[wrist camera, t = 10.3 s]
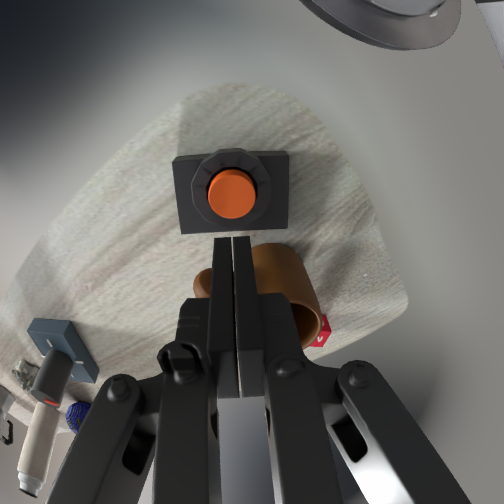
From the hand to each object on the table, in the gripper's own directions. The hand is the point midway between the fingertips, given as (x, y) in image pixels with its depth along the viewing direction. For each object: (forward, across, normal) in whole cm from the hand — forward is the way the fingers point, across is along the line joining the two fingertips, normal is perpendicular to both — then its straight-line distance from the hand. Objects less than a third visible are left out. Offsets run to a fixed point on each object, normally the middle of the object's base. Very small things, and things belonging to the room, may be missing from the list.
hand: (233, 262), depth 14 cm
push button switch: (+14, 0, -1) cm, 14 cm away
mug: (+15, +2, -10) cm, 18 cm away
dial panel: (+14, -29, -24) cm, 40 cm away
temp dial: (+11, -29, -24) cm, 39 cm away
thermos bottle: (+15, -54, -54) cm, 78 cm away
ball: (+15, -36, -46) cm, 60 cm away
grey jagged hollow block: (+15, -46, -36) cm, 60 cm away
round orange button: (+11, 0, 0) cm, 11 cm away
